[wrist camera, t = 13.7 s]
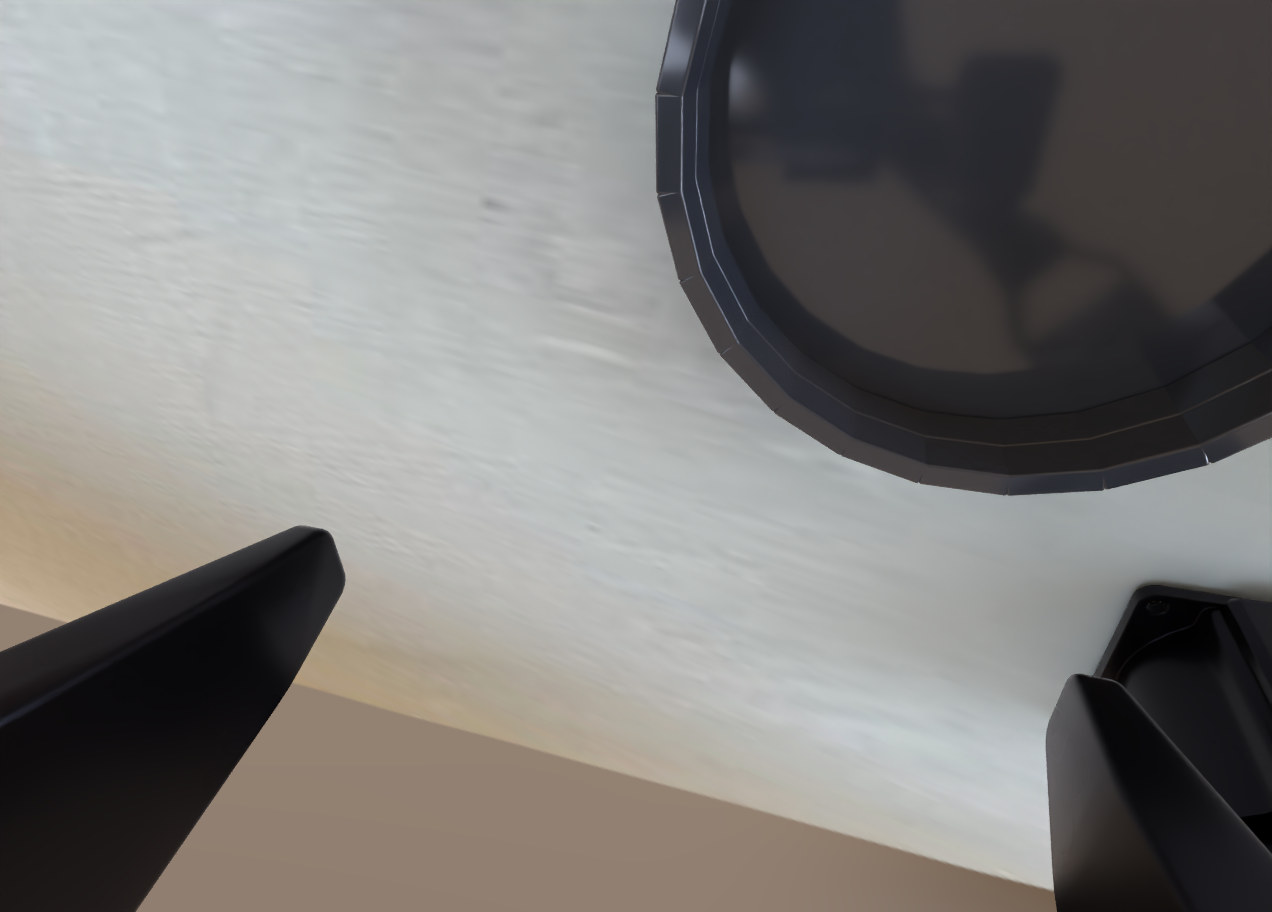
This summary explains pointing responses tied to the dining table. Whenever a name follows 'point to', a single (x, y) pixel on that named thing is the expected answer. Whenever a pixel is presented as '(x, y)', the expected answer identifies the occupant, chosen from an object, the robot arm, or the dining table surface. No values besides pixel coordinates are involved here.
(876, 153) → the pan
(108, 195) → the dining table surface
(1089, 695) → the robot arm
